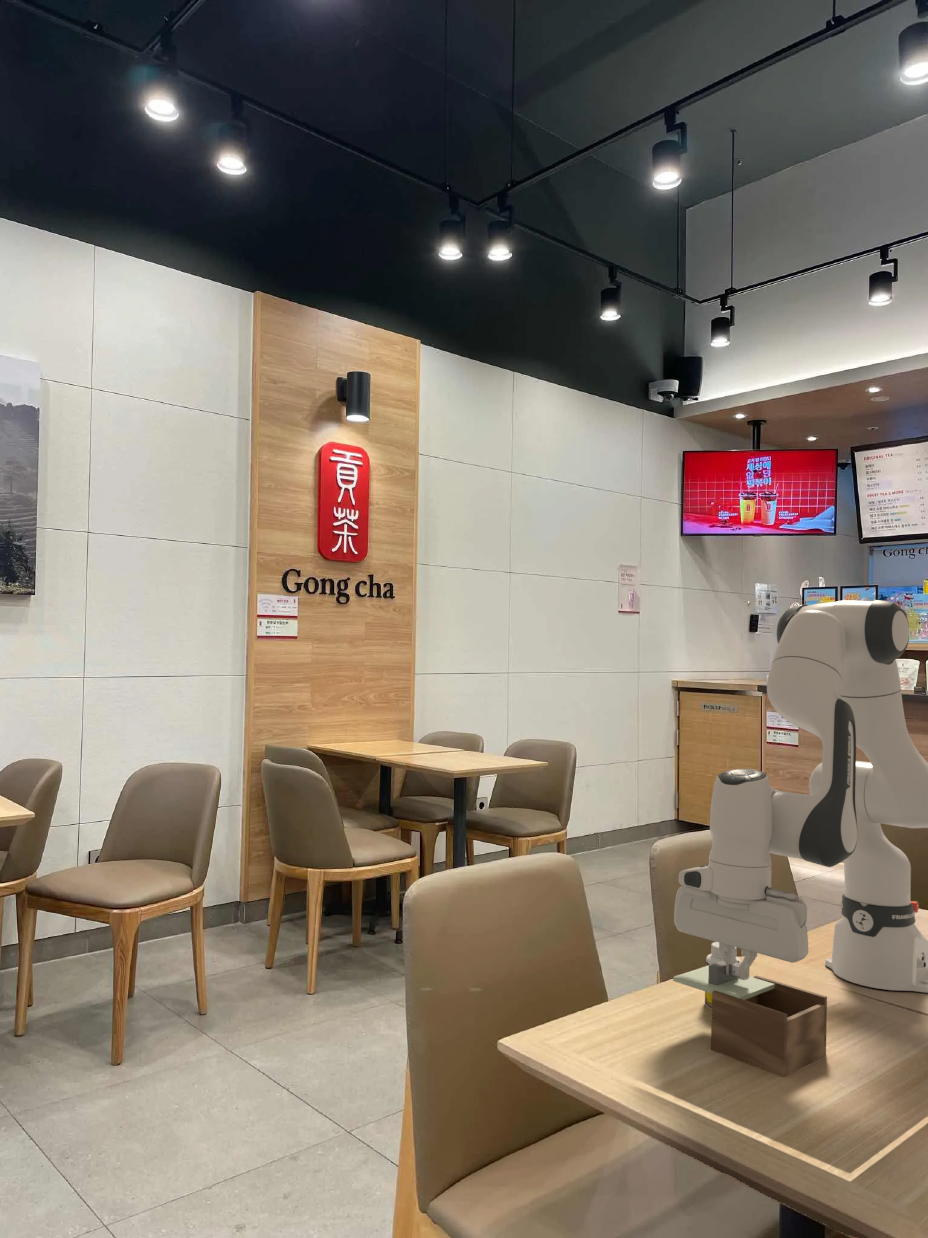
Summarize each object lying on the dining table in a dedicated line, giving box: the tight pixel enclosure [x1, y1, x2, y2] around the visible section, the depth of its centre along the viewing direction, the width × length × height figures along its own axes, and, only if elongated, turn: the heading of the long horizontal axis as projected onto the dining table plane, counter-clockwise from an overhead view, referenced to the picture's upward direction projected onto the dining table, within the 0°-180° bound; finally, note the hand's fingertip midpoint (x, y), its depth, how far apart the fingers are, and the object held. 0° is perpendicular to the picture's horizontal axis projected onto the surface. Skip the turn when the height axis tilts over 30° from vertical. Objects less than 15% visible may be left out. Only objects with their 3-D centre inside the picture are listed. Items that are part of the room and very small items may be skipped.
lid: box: [672, 960, 775, 1000], centre depth 134 cm, size 10×11×3 cm
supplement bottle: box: [704, 941, 742, 1010], centre depth 146 cm, size 6×6×10 cm
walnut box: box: [710, 975, 828, 1078], centre depth 128 cm, size 12×11×9 cm
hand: (737, 977), depth 133 cm, fingers closed
